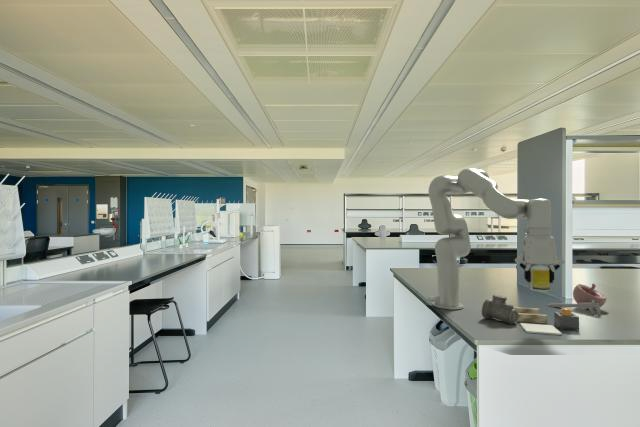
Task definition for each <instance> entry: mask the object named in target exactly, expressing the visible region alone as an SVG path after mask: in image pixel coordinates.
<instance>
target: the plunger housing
mask: <svg viewBox="0 0 640 427" xmlns="http://www.w3.org/2000/svg"><path fill="white" fill-rule="evenodd" d="M553 314H554V316H553V317H554V325H553V326H554V327H555V328H556V329H558V330H559V331H574V332H580V317H579V316H578V315H576V314H575V313H574V312H571V316H564V315H561V312H560V311H554V313H553Z"/></svg>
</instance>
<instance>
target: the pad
mask: <svg viewBox="0 0 640 427" xmlns="http://www.w3.org/2000/svg"><path fill="white" fill-rule="evenodd" d="M519 325H520V327H521V328H522V329H523V330H524V332H526V333H527V334H543V335H553V336H563V333H562V332H561V330H560V329H558V328H557V327H556V326H555V325H551V324H542V323H528V322H520V323H519Z"/></svg>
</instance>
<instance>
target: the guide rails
mask: <svg viewBox="0 0 640 427" xmlns="http://www.w3.org/2000/svg"><path fill="white" fill-rule="evenodd" d="M514 309H516V310H517V312H518V320H517V322H520V323H533V324H548V315H547V314H541V313H540V312H541V311H540V308H533V307H532V308H531V307H518V306H517V307H515V306H514Z"/></svg>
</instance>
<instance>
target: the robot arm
mask: <svg viewBox="0 0 640 427" xmlns="http://www.w3.org/2000/svg"><path fill="white" fill-rule="evenodd" d="M427 193H428V198H429V201H430V206H431V211H432V217H433V223H434V228H435V231H436V233H438V234H439V235H449V237H443V238H440V239H438V240H437V241H436V243H435V244H434V253H435V257H436V266H437V267H436V268H437V269H436V270H437V274H436V275H437V279H436V280H437V282H436V283H437V285H436V286H437V294H436V295H434V296H427V297H426V298H427V299H426V301H430V302H434V303H433V306H434V307H436V308H439V309H442V310H453V311H454V310H462V309H464V304H463V303H461V302H460V298H461V297H460V264H459V263H458V260H457V258H465V257H466V256H468V255H469V254H470V252H471V247H472V246H471V240H470V239H471V238H470V232H469V228H468V224H467V223H468V222H467V221H466V219H465V218H464V217H463V216H462V215H460V214H455V213H454V214H453V210H452V206H451V202H450V200H449V198H448V197H447V195H464V194H467V193H472V194H473V195H475V196H476V197H478V198H480V199H481V200H482V202H483V204H484V205H485V206H486V208H487V209H489V210H491V211H492V212H494V213H495V214H496V215H498V216H499V217H501V218H504V219H507V220H524V219H525V220H526V228H525V229H522V234H525V236H524V240H523V245H522V246H523V247H522V253H521V254H519V255H518V256H517V257H516V258H514V261H515V263H516V264H518V266H520V268H522V269H523V270H524V273H523V274H524V275H523V276H524V280H525V281H526V282H527V283H529V282H530V271H529V268H530V266H531V265H532V264H542V265H547V266H548V267H549V269H550V284H553V283H554V281H555V273H556V271H557V270H559V268H561V266H562V265H564V263H565V261H564V260H563V259H562V258H561V257H560V256H559V255H557V247H556V241H555V237H554V236H552V205H551V204H552V203H551V201H550V200H549V199H548V198H535V199H534V198H533V199H520V198H518V199H517V198H511V197H508V196H506V195H504V194H502V193H501V192H499V191H498V184H497V182H496V181H494V180H493V179H490V176H489V174H488V173H487V172H486V171H485V170H483V169H478V168H472V167H471V168H470V167H469V168H463V169H462V170H460V171H459V172H458V175H457V176H456V175H455V176H454V175H438V176H436V177H434V178H433V179H432V180H431V182H430V184H429V186H428V192H427ZM522 261H523V262H524V263H525V264H524V263H523V262H522Z"/></svg>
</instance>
